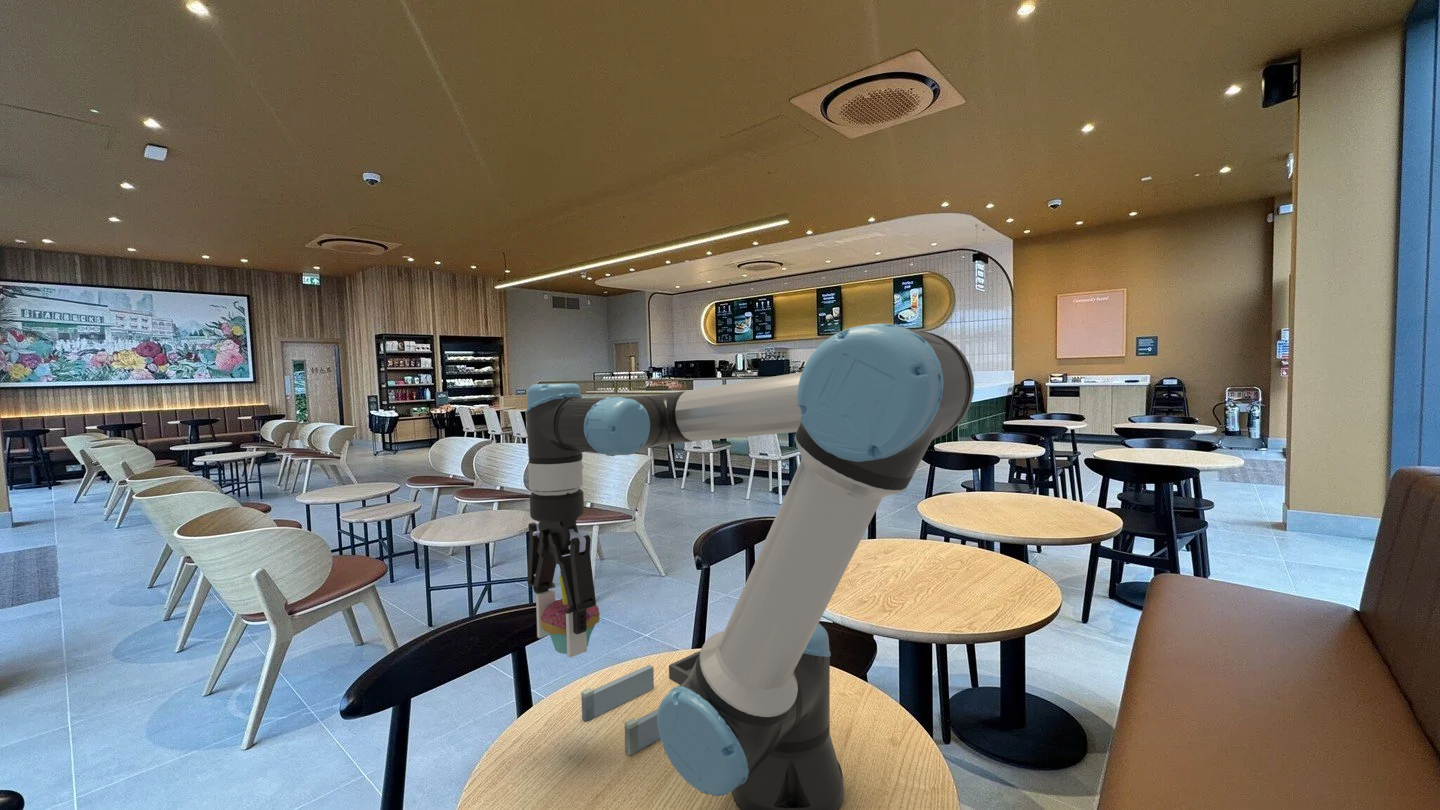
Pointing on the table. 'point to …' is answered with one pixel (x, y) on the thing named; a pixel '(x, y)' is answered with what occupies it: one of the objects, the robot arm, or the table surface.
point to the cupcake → (564, 621)
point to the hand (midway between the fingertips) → (561, 643)
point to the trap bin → (682, 668)
